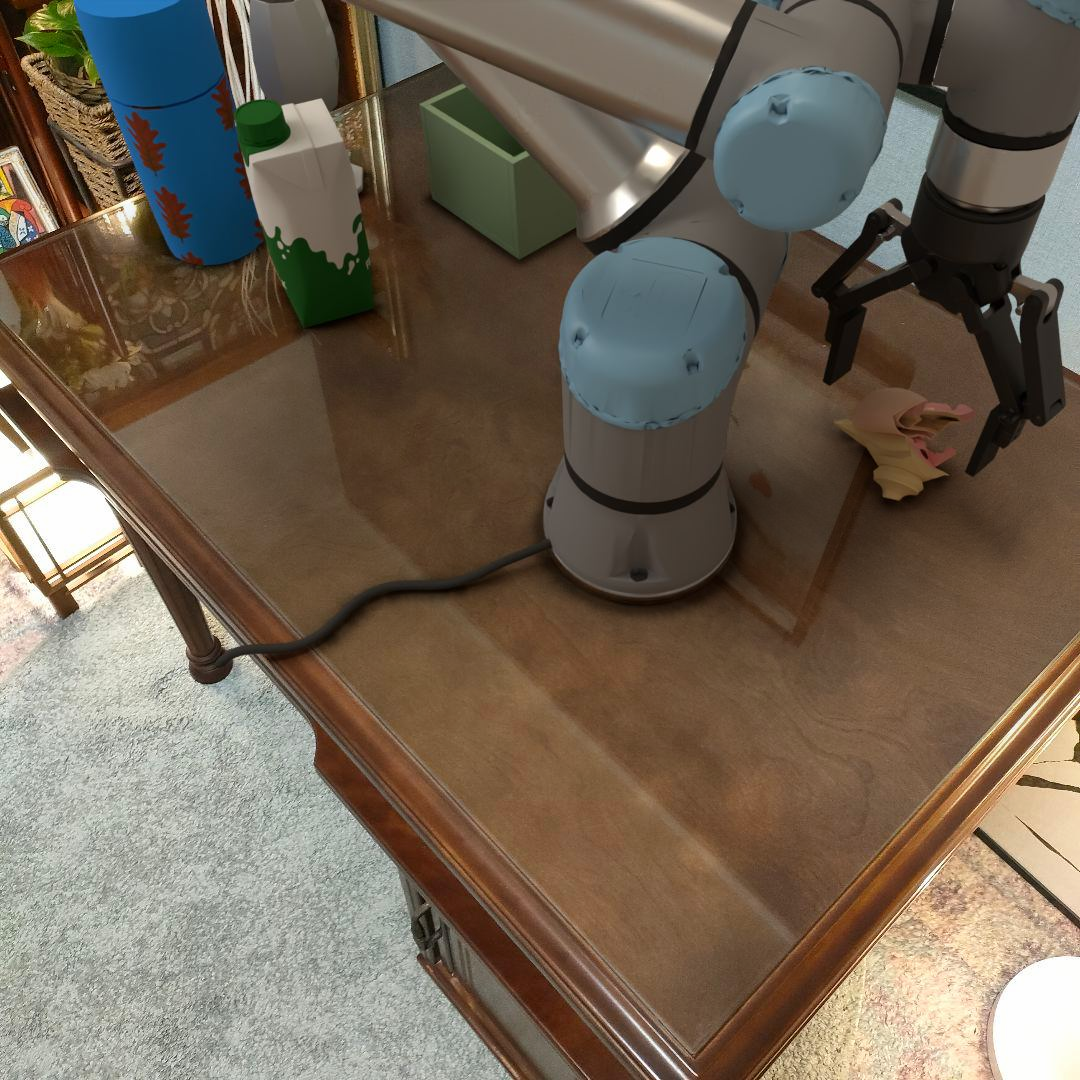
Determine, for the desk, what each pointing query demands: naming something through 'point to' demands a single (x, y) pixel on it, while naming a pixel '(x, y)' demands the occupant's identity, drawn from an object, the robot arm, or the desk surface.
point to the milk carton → (307, 207)
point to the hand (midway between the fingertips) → (905, 419)
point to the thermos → (176, 121)
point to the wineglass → (296, 54)
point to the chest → (490, 176)
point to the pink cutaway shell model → (902, 437)
